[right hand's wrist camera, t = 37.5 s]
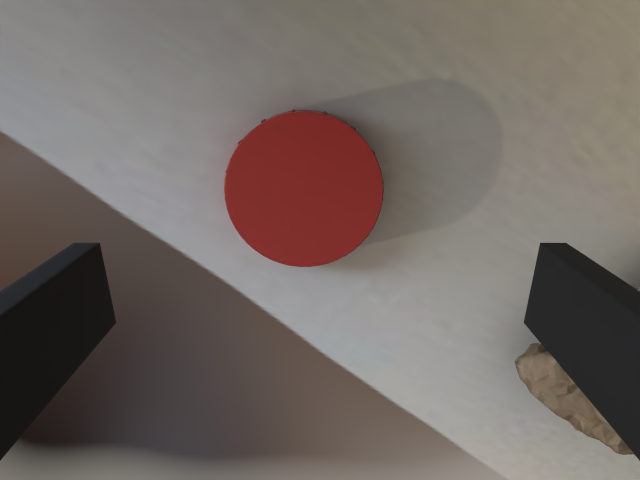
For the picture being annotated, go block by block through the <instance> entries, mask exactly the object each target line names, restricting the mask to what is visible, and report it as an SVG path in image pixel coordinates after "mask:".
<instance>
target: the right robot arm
mask: <svg viewBox="0 0 640 480" xmlns="http://www.w3.org/2000/svg"><path fill="white" fill-rule="evenodd" d="M115 323H116V320H115V315H114V310H113V305H112V300H111V295H110V290H109V286H108V281H107V276H106V271H105V266H104V261H103V257H102V252H101V247H100V243H73V244H72V245H70V246H69V247H67V248H66V249H64V250H63V251H61V252H60V253H58V254H57V255H55V256H53V257H52V258H50V259H49V260H48V261H46V262H44V263H43V264H41V265H40V266H38V267H37V268H35V269H34V270H32V271H31V272H29V273H28V274H26V275H25V276H23V277H22V278H20V279H19V280H17V281H16V282H14V283H13V284H11V285H10V286H8V287H7V288H5V289H4V290H2V291H1V292H0V460H1V459H2V458H3V457H4V455H5V454H6V453H7V452H8V451H9V449H10V448H11V447H12V446H13V445H14V443H15V442H16V441H17V440H18V439H19V438H20V436H21V435H22V434H23V433H24V432H25V430H26V429H27V428H28V427H29V426H30V424H31V423H32V422H33V421H34V420H35V418H36V417H37V416H38V415H39V414H40V413H41V411H42V410H43V409H44V408H45V407H46V405H47V404H48V403H49V402H50V401H51V399H52V398H53V397H54V396H55V395H56V393H57V392H58V391H59V390H60V389H61V388H62V386H63V385H64V384H65V383H66V382H67V380H68V379H69V378H70V377H71V376H72V374H73V373H74V372H75V371H76V370H77V369H78V367H79V366H80V365H81V364H82V363H83V361H84V360H85V359H86V358H87V357H88V355H89V354H90V353H91V352H92V351H93V349H94V348H95V347H96V346H97V345H98V344H99V342H100V341H101V340H102V339H103V338H104V336H105V335H106V334H107V333H108V332H109V330H110V329H111V328H112V327H113V326H114V325H115ZM524 323H525V325H526V326H527V327H528V328H529V329H530V330H531V332H532V333H533V334H534V335H535V336H536V338H537V339H538V340H539V341H540V342H541V344H542V345H543V346H544V347H545V348H546V350H547V351H548V352H549V353H550V354H551V355H552V357H553V358H554V359H555V360H556V361H557V363H558V364H559V365H560V366H561V367H562V369H563V370H564V371H565V372H566V373H567V374H568V376H569V377H570V378H571V379H572V380H573V382H574V383H575V384H576V385H577V386H578V388H579V389H580V390H581V391H582V392H583V394H584V395H585V396H586V397H587V398H588V399H589V401H590V402H591V403H592V404H593V405H594V407H595V408H596V409H597V410H598V411H599V413H600V414H601V415H602V416H603V417H604V418H605V420H606V421H607V422H608V423H609V424H610V426H611V427H612V428H613V429H614V430H615V432H616V433H617V434H618V435H619V436H620V438H621V439H622V440H623V441H624V442H625V443H626V445H627V446H628V447H629V448H630V449H631V451H632V452H633V453H634V454H635V455H636V457H637V458H638V459H639V460H640V292H639V291H638V290H636V289H635V288H633V287H632V286H630V285H629V284H627V283H626V282H624V281H623V280H621V279H620V278H618V277H617V276H615V275H614V274H612V273H611V272H609V271H608V270H606V269H605V268H603V267H602V266H600V265H599V264H597V263H596V262H594V261H593V260H591V259H590V258H588V257H587V256H585V255H583V254H582V253H580V252H579V251H577V250H576V249H574V248H573V247H571V246H570V245H568V244H567V243H540V247H539V252H538V257H537V261H536V266H535V271H534V276H533V281H532V286H531V290H530V295H529V300H528V305H527V310H526V315H525V320H524Z"/></svg>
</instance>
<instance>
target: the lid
mask: <svg viewBox="0 0 640 480" xmlns="http://www.w3.org/2000/svg"><path fill="white" fill-rule="evenodd" d="M238 144H239V145H238V146H237V148H236V149H235V151H234V153H233V155H232V157H231V159H230V162H229V165H228V167H227V170H226V176H225V186H224V191H225V201H226V206H227V210H228V213H229V216H230V219H231V221H232V223H233V225H234V227H235V228H236V230H237V231H238V233H239V234H240V236H241V237H242V238H243V239H244V240H245V241H246V243H247V244H249V245H250V246H251V247H252V248H253V249H254V250H256V251H257V252H259V253H260V254H261V255H263V256H265V257H267V258H269V259H271V260H273V261H276V262H279V263H282V264H286V265H290V266H298V267H311V266H319V265H323V264H327V263H330V262H333V261H336V260H338V259H340V258H342V257H344V256H346V255H347V254H349V253H350V252H351V251H353V250H354V249H355V248H357V247H358V246H359V245H360V244H361V243H362V242H363V241H364V240H365V238H366V237H367V236H368V235H369V233H370V232H371V230H372V229H373V227H374V225H375V223H376V221H377V219H378V216H379V213H380V210H381V205H382V200H383V180H382V175H381V170H380V167H379V164H378V161H377V159H376V157H375V152H374V151H373V150H371V148H370V147H369V145H368V144H367V142H366V141H365V140H364V139H363V138H362V137H361V136H360V135H359V134H358V133H357V131H356V129H355V128H354V127H353V126H352V127H351V126H350V125H348V124H347V123H345V122H344V121H342V120H340V119H338V118H336V117H334V116H332V115H329V114H327V112H325V111H324V113H322V112H318V111H311V110H296V111H295V109H293V110H292V111H289V112H285V113H281V114H278V115H276V116H273V117H271V118H269V119H267V120H265V119H264V120H262V121H261V123H260V124H259V125H258V126H257V127H255V128H254V129H253V130H252V131H251V132H249V133H248V134H247V136H246V137H245V138H244V139H243V140H241V141H240V142H239V143H238Z"/></svg>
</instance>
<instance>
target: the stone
mask: <svg viewBox="0 0 640 480" xmlns="http://www.w3.org/2000/svg"><path fill="white" fill-rule="evenodd" d="M637 290H638V291H639V292H640V285H639V287H638V289H637ZM515 365H516V368H517V371H518V373H519V376H520V379H521V380H522V381H523V382H524V383H525V384H526V385H527V387H528V389H529V391H530V392H531V393H532V394H533V395H534V396H535V397H536V398H537V399H538V400H539V401H541V402H542V403H543V404H544V405H545V406H547V407H548V408H549V409H550V410H551V411H553V412H554V413H555V414H556V415H558V416H559V417H561V418H563V419H565V420H567V421H569V422H570V423H571V424H572V425H573V427H574V428H575V429H576V430H578V431H581V432H583V433H584V434H586V435H587V436H589V437H592V438H595V439H598V440H600V441H601V442H603V443H604V444H605V445H607V446H609V447H610V448H611V449H612V450H614V451H615V452H616V453H618V454H634V453H633V452H632V451H631V449H630V448H629V447H628V446H627V445H626V443H625V442H624V441H623V440H622V439H621V438H620V436H619V435H618V434H617V433H616V432H615V430H614V429H613V428H612V427H611V426H610V424H609V423H608V422H607V421H606V420H605V418H604V417H603V416H602V415H601V414H600V413H599V411H598V410H597V409H596V408H595V407H594V405H593V404H592V403H591V402H590V401H589V399H588V398H587V397H586V396H585V395H584V394H583V392H582V391H581V390H580V389H579V388H578V386H577V385H576V384H575V383H574V382H573V380H572V379H571V378H570V377H569V376H568V374H567V373H566V372H565V371H564V370H563V369H562V367H561V366H560V365H559V364H558V363H557V361H556V360H555V359H554V358H553V357H552V355H551V354H550V353H549V352H548V351H547V350H546V348H545V347H544V346H543V345H542V344H530V346H529V348H528V350H527V351H526V352H525V353H524V354H522V355H521V356H519V357H518V358H517V359H516V361H515Z"/></svg>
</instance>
